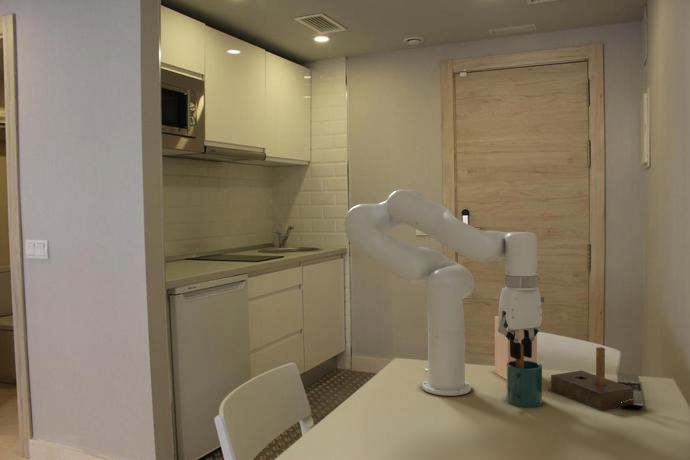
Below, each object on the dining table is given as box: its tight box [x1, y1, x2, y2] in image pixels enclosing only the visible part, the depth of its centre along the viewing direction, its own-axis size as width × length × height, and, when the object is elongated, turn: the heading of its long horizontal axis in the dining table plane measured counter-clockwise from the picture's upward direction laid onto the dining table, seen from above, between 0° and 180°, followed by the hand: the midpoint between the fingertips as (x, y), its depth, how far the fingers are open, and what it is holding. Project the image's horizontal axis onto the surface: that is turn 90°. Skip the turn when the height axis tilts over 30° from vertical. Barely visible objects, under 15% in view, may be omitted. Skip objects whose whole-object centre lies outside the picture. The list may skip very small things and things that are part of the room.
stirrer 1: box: [516, 344, 524, 369], centre depth 141 cm, size 1×1×13 cm
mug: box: [506, 361, 543, 408], centre depth 139 cm, size 12×8×9 cm
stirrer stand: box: [550, 370, 634, 411], centre depth 143 cm, size 16×10×4 cm, turn 22°
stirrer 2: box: [595, 346, 606, 387], centre depth 140 cm, size 1×1×13 cm
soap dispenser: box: [494, 296, 545, 381], centre depth 162 cm, size 13×9×22 cm
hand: (520, 356), depth 141 cm, fingers closed
